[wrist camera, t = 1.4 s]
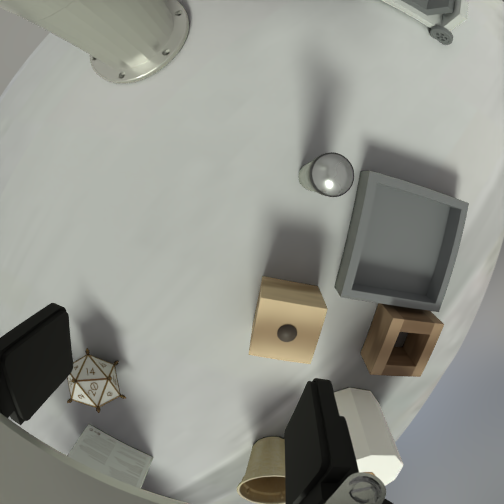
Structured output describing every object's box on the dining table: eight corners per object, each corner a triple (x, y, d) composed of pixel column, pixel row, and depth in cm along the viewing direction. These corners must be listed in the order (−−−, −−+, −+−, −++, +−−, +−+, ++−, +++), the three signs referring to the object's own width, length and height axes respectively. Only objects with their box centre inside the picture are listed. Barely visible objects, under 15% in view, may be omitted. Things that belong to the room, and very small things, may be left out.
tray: (360, 171, 28) (369, 170, 25) (454, 200, 28) (468, 203, 25) (334, 286, 31) (340, 297, 28) (427, 301, 30) (438, 311, 28)
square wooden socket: (379, 301, 31) (393, 318, 26) (427, 308, 31) (444, 324, 26) (360, 353, 32) (370, 374, 28) (407, 357, 32) (420, 376, 28)
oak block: (262, 275, 31) (260, 297, 25) (317, 285, 31) (327, 309, 25) (252, 325, 33) (248, 355, 27) (304, 334, 32) (310, 364, 27)
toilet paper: (324, 444, 37) (334, 507, 25) (294, 407, 35) (299, 479, 23) (386, 417, 35) (409, 477, 23) (364, 375, 33) (391, 442, 22)
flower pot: (316, 447, 37) (322, 490, 29) (270, 469, 39) (268, 509, 30) (277, 420, 36) (277, 467, 27) (229, 445, 38) (222, 488, 29)
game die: (109, 342, 39) (71, 330, 30) (147, 382, 37) (113, 382, 27) (78, 381, 36) (37, 377, 27) (112, 422, 34) (74, 429, 25)
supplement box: (86, 452, 43) (52, 508, 26) (88, 422, 40) (44, 487, 23) (142, 481, 43) (117, 543, 26) (154, 456, 40) (124, 531, 23)
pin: (300, 159, 28) (315, 147, 18) (329, 165, 28) (357, 158, 18) (295, 188, 29) (307, 191, 19) (324, 194, 29) (349, 201, 19)
